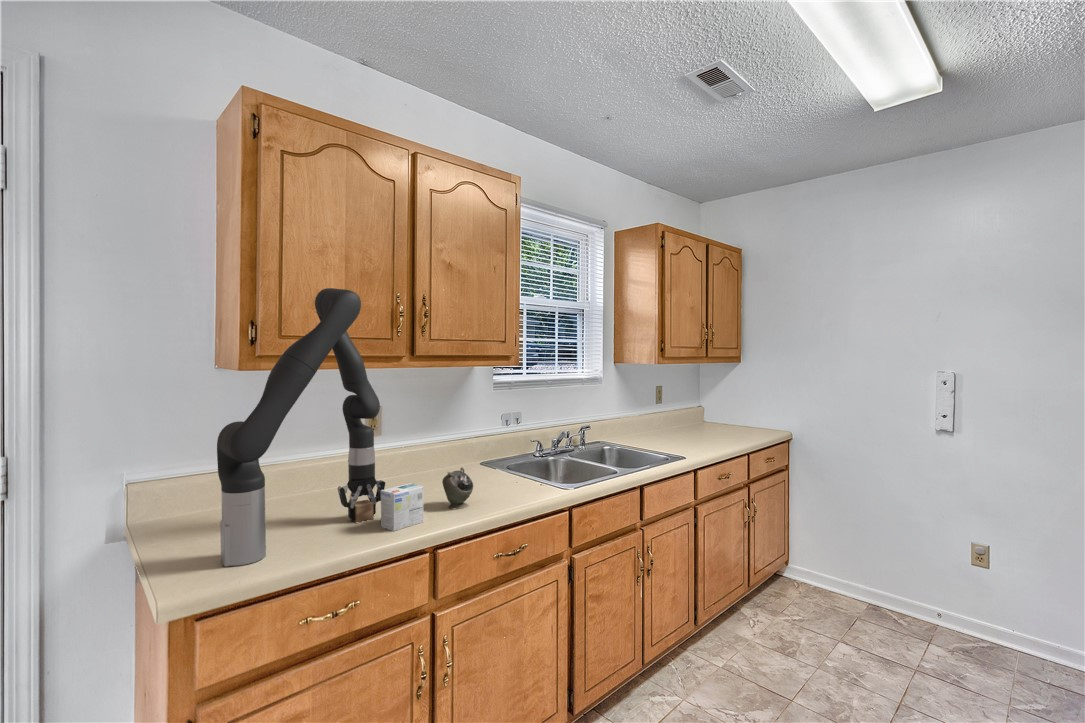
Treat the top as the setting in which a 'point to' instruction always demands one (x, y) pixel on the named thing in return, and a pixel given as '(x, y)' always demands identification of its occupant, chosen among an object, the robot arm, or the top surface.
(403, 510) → the light bulb box
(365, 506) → the walnut cube
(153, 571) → the top surface
